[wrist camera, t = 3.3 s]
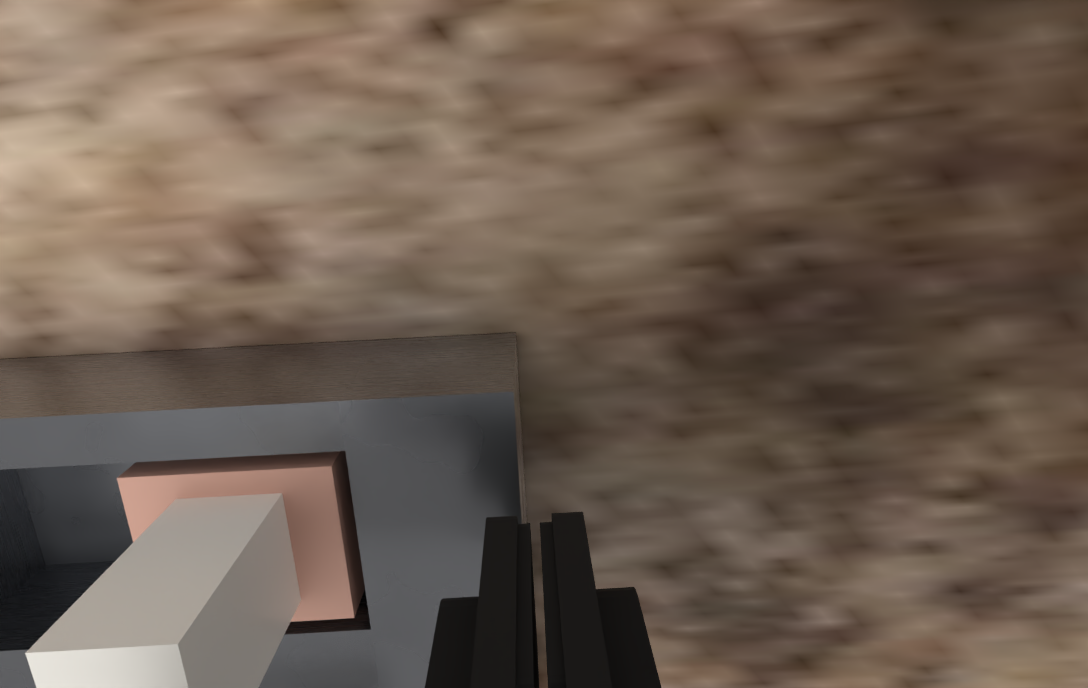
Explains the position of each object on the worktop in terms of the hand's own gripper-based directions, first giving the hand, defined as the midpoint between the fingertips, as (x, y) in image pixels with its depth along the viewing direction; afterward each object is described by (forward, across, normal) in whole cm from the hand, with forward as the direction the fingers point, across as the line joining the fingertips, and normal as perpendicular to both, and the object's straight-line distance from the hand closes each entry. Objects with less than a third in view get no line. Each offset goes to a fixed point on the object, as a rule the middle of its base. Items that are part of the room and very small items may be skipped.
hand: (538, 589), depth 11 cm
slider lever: (+3, +6, 0) cm, 6 cm away
